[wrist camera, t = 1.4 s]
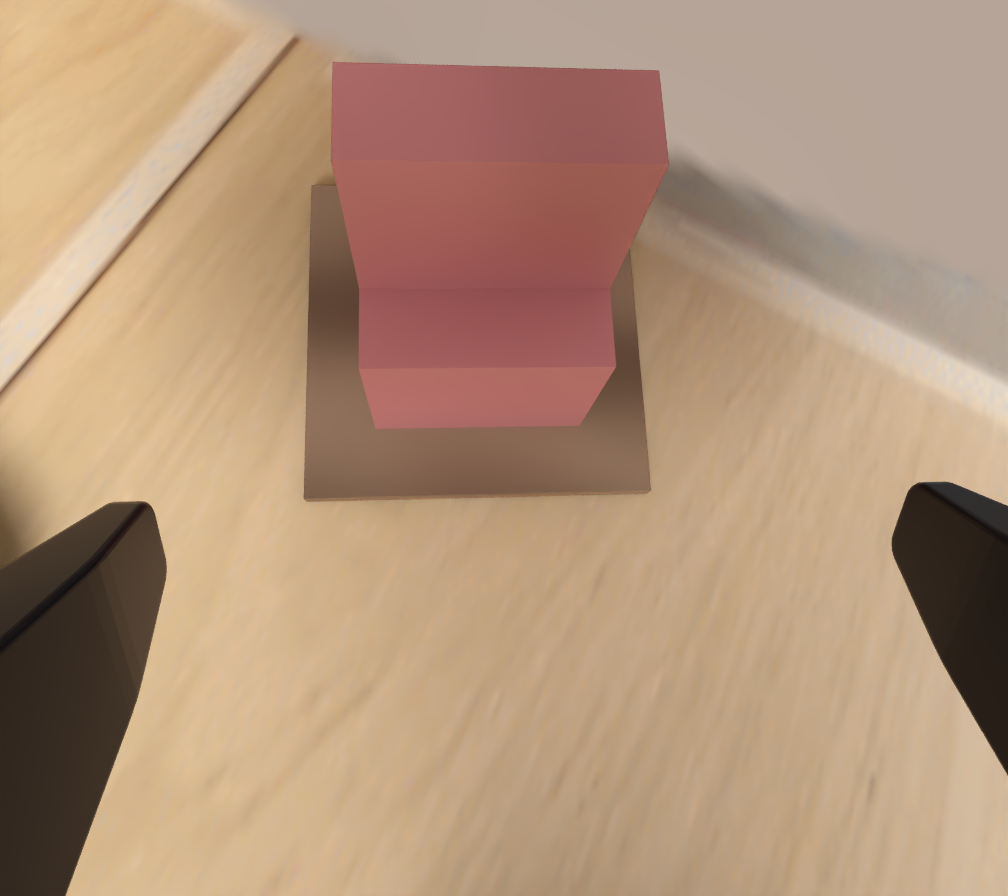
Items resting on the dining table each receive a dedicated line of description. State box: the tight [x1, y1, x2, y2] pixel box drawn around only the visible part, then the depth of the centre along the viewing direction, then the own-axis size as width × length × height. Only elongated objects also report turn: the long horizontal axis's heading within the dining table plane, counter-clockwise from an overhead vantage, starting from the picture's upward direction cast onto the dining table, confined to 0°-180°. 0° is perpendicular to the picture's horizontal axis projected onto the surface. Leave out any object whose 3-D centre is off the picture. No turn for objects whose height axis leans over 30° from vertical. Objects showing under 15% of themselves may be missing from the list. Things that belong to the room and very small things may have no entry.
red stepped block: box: [331, 62, 669, 429], centre depth 19 cm, size 7×6×10 cm
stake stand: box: [304, 185, 651, 501], centre depth 22 cm, size 10×10×4 cm
